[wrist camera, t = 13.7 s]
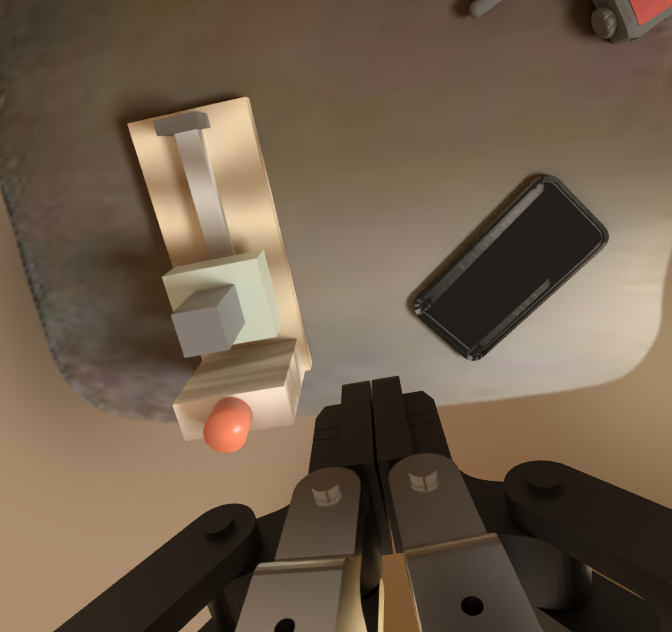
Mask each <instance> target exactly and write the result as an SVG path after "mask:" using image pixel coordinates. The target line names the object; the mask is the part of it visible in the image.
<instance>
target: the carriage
mask: <svg viewBox="0 0 672 632" xmlns="http://www.w3.org/2000/svg"><path fill="white" fill-rule="evenodd" d="M162 279H163V282H164V285H165V288H166V291H167V295H168V298H169V301H170V304H171V307H172V310H173V313H172V314H171V318H172V321H173V324H174V327H175V330H176V333H177V336H178V339H179V342H180V345H181V348H182V351H183V354H184V357H185V358H187V357H192V356H198V355H204V354H209V353H215V352H221V351H227V350H230V348H231V346H232V345H233V344H239V343H245V342H250V341H256V340H262V339H267V338H273V337H277V335H278V332H279V330H280V327H281V324H282V320H281V316H280V312H279V308H278V304H277V300H276V296H275V292H274V288H273V284H272V280H271V276H270V273H269V269H268V265H267V261H266V257H265V253H264V250H259V251H253V252H248V253H243V254H238V255H233V256H228V257H223V258H218V259H212V260H207V261H202V262H197V263H192V264H187V265H182V266H177V267H175V268H173V269H172V270H171V271H169V272H168V273H166V274H165V275H164V276H162Z"/></svg>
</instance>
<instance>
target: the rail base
mask: <svg viewBox="0 0 672 632" xmlns="http://www.w3.org/2000/svg"><path fill="white" fill-rule="evenodd" d="M128 127H129V131H130V134H131V137H132V140H133V143H134V146H135V150H136V153H137V156H138V159H139V162H140V165H141V169H142V172H143V175H144V178H145V181H146V184H147V188H148V191H149V194H150V197H151V200H152V203H153V207H154V210H155V213H156V216H157V219H158V222H159V226H160V229H161V232H162V235H163V238H164V241H165V245H166V248H167V251H168V254H169V257H170V260H171V264H172V267H173V268H175V267H177V266H182V265H187V264H192V263H197V262H202V261H207V260H212V259H218V258H223V257H228V256H233V255H238V254H243V253H248V252H253V251H259V250H264V253H265V257H266V261H267V265H268V269H269V273H270V276H271V280H272V284H273V288H274V292H275V296H276V300H277V304H278V308H279V312H280V316H281V320H282V324H281V327H280V330H279V332H278V335H277V337H273V338H267V339H262V340H256V341H250V342H245V343H239V344H233V345H232V346H231V348H230V350H227V351H221V352H215V353H209V354H204V355H201V358H202V362H201V364H200V365H199V366H198V368H197V369H196V371H195V372H194V374H193V375H192V377H191V378H190V380H189V381H188V383H187V384H186V386H185V387H184V389H183V390H182V391H181V393H180V394H179V396H178V397H177V399H176V400H175V402H174V403H173V408H174V410H175V413H176V416H177V419H178V422H179V425H180V428H181V430H182V433H183V436H184V439H185V441H189V440H195V439H201V438H204V436H203V429H204V426H205V424H206V422H207V420H208V418H209V416H210V414H211V412H212V410H213V408H214V407H215V405H216V404H217V403H218V402H219V401H220V400H222V399H224V398H229V397H233V398H238V399H241V400H243V401H244V402H246V403H247V404H248V405H249V407H250V408H251V410H252V414H253V419H252V423H251V426H250V428H249V431H251V430H258V429H264V428H271V427H277V426H283V425H289V424H294V420H295V415H296V410H297V406H298V401H299V396H300V391H301V387H302V382H303V377H304V373H305V371H307V370H311V365H312V361H311V357H310V352H309V348H308V344H307V340H306V336H305V331H304V327H303V323H302V319H301V315H300V310H299V306H298V302H297V298H296V294H295V289H294V285H293V281H292V277H291V273H290V268H289V264H288V260H287V256H286V252H285V247H284V243H283V239H282V235H281V231H280V226H279V222H278V218H277V214H276V210H275V205H274V201H273V197H272V193H271V189H270V184H269V180H268V176H267V172H266V168H265V164H264V159H263V155H262V151H261V147H260V143H259V138H258V134H257V130H256V126H255V122H254V117H253V113H252V109H251V105H250V101H249V98H247V97H242V98H238V99H233V100H229V101H225V102H220V103H216V104H211V105H207V106H203V107H198V108H194V109H189V110H185V111H181V112H176V113H172V114H167V115H163V116H158V117H154V118H150V119H145V120H141V121H136V122H132V123H128Z"/></svg>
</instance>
